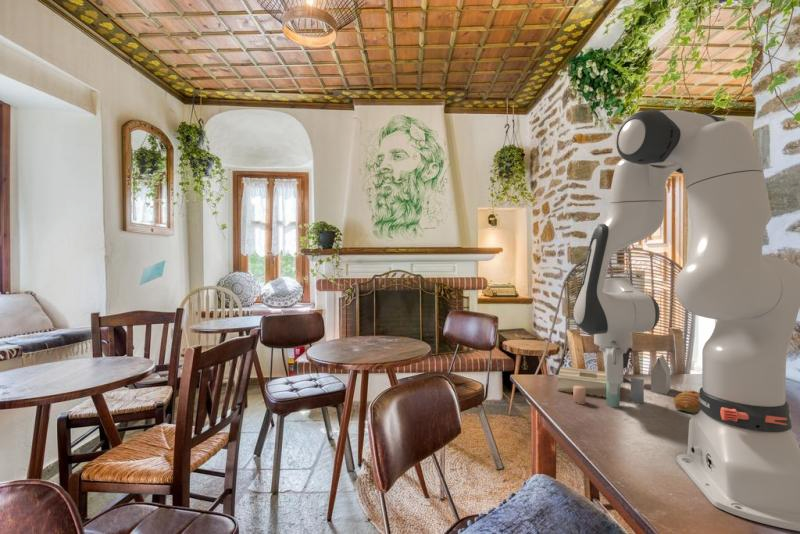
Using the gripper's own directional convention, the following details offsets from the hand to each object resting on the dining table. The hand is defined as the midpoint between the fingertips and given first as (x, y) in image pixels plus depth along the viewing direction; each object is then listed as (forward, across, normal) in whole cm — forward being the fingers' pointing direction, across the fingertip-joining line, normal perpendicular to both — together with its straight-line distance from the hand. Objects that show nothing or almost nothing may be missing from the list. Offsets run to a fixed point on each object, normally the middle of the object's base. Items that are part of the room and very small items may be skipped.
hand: (612, 390), depth 101 cm
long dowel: (+4, 0, 0) cm, 4 cm away
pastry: (+4, +7, -18) cm, 20 cm away
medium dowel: (+4, +6, -6) cm, 9 cm away
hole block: (+4, +12, +6) cm, 14 cm away
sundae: (+4, +25, -3) cm, 26 cm away
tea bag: (+4, +19, -13) cm, 23 cm away
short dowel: (+4, -1, +8) cm, 9 cm away
